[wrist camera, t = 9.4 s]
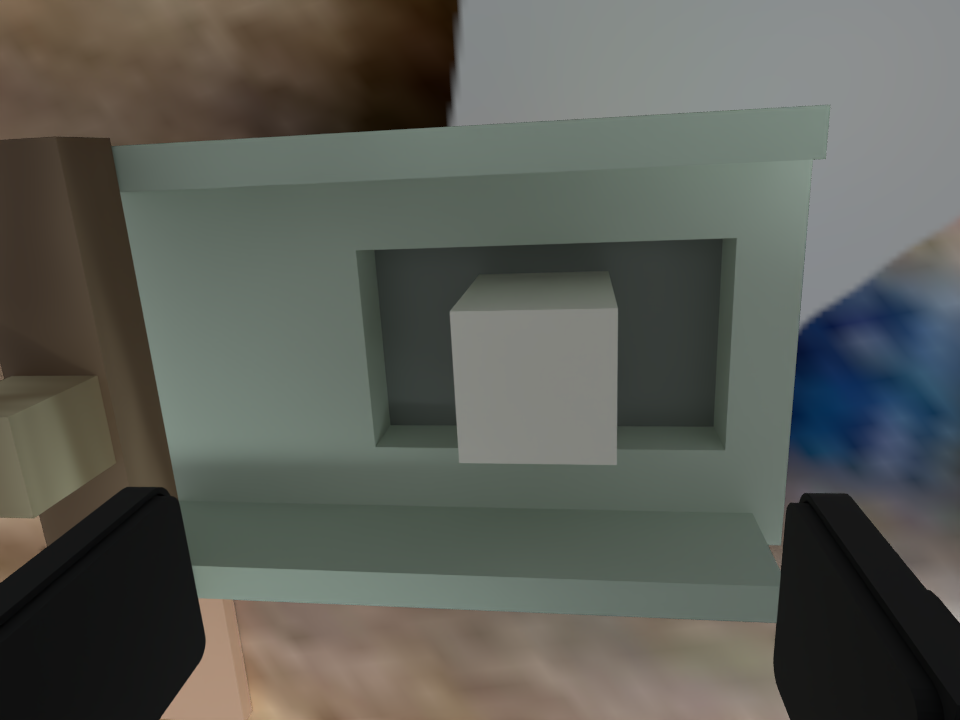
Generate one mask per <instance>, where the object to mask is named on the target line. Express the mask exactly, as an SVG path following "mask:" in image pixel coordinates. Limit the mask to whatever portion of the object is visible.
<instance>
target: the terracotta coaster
mask: <svg viewBox="0 0 960 720" xmlns="http://www.w3.org/2000/svg"><path fill="white" fill-rule="evenodd" d="M198 600H199V605H200V610H201V616H202V621H203V626H204V631H205V637H206V645H205V651H204V654H203V657H202V659H201V661H200V663H199V664H198V666H197V667H196V669H195V670H194V671H193V673H192V674H191V676H190V677H189V678H188V680H187V681H186V683H185V684H184V685H183V687H182V688H181V690H180V691H179V693H178V694H177V695H176V697H175V698H174V700H173V701H172V702H171V704H170V705H169V707H168V708H167V709H166V711H165V712H164V714H163V715H162V716H161V718H160V719H173V720H248V718H249V716H250V715H251V713H252V705H251V699H250V694H249V688H248V682H247V676H246V670H245V665H244V659H243V653H242V647H241V642H240V636H239V630H238V624H237V619H236V613H235V607H234V601H233V600H229V599H205V598H198Z"/></svg>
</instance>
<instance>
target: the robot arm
mask: <svg viewBox="0 0 960 720" xmlns="http://www.w3.org/2000/svg"><path fill="white" fill-rule="evenodd" d="M205 645H206V637H205V631H204V626H203V621H202V616H201V610H200V605H199V600H198V595H197V590H196V585H195V580H194V574H193V569H192V564H191V559H190V554H189V549H188V544H187V538H186V533H185V528H184V523H183V518H182V513H181V508H180V504H179V501H178V500H177V498H176V497H174V496H170V493H169V492H168V491H167V489H165V488H163V487H126V488H124V489H122V490H120V491H119V492H118V493H116V494H115V495H114V496H113V497H111V498H110V499H109V500H107V501H106V502H105V503H104V504H102V505H101V506H100V507H98V508H97V509H96V510H94V511H93V512H92V513H91V514H89V515H88V516H87V517H85V518H84V519H83V520H81V521H80V522H79V523H78V524H76V525H75V526H74V527H72V528H71V529H70V530H69V531H67V532H66V533H65V534H63V535H62V536H61V537H59V538H58V539H57V540H56V541H54V542H53V543H52V544H50V545H49V546H48V547H46V548H45V549H44V550H43V551H41V552H40V553H39V554H37V555H36V556H35V557H34V558H32V559H31V560H30V561H28V562H27V563H26V564H24V565H23V566H22V567H21V568H19V569H18V570H17V571H15V572H14V573H13V574H11V575H10V576H9V577H8V578H6V579H5V580H4V581H2V582H1V583H0V720H159V719H160V718H161V716H162V715H163V714H164V712H165V711H166V709H167V708H168V707H169V705H170V704H171V702H172V701H173V700H174V698H175V697H176V695H177V694H178V693H179V691H180V690H181V688H182V687H183V685H184V684H185V683H186V681H187V680H188V678H189V677H190V676H191V674H192V673H193V671H194V670H195V669H196V667H197V666H198V664H199V663H200V661H201V659H202V657H203V654H204V651H205ZM773 664H774V674H775V680H776V684H777V687H778V690H779V692H780V695H781V697H782V700H783V702H784V705H785V708H786V710H787V713H788V715H789V718H790V720H960V623H959V622H958V621H957V619H956V618H955V617H954V616H953V615H952V613H951V612H950V611H949V610H948V608H947V607H946V606H945V605H944V604H943V602H942V601H941V600H940V599H939V598H938V597H937V596H936V595H935V594H934V593H933V592H932V591H930V590H927V589H926V588H925V587H924V586H923V585H922V583H921V582H920V581H919V580H918V578H917V577H916V576H915V575H914V574H913V572H912V571H911V570H910V569H909V567H908V566H907V565H906V564H905V563H904V561H903V560H902V559H901V558H900V556H899V555H898V554H897V553H896V552H895V550H894V549H893V548H892V547H891V545H890V544H889V543H888V542H887V541H886V539H885V538H884V537H883V536H882V534H881V533H880V532H879V531H878V530H877V528H876V527H875V526H874V525H873V523H872V522H871V521H870V520H869V519H868V517H867V516H866V515H865V514H864V512H863V511H862V510H861V509H860V508H859V506H858V505H857V504H856V503H855V501H854V500H853V499H852V498H851V497H850V496H849V495H848V494H830V493H804V494H803V495H802V496H801V499H800V502H799V503H790V504H789V505H788V507H787V510H786V519H785V530H784V542H783V554H782V565H781V577H780V588H779V600H778V612H777V623H776V635H775V647H774V661H773Z"/></svg>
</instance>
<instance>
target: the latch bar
mask: <svg viewBox="0 0 960 720" xmlns="http://www.w3.org/2000/svg"><path fill="white" fill-rule="evenodd" d="M0 364H1V367H2V371H3V375H4V379H3V380H1V381H0V517H1V518H35V517H37V516H38V515H39V517H40V521H41V524H42V528H43V532H44V536H45V540H46V544H47V547H48V546H49V545H50V544H52V543H53V542H54V541H56V540H57V539H58V538H59V537H61V536H62V535H63V534H65V533H66V532H67V531H69V530H70V529H71V528H72V527H74V526H75V525H76V524H78V523H79V522H80V521H81V520H83V519H84V518H85V517H87V516H88V515H89V514H91V513H92V512H93V511H94V510H96V509H97V508H98V507H100V506H101V505H102V504H104V503H105V502H106V501H107V500H109V499H110V498H111V497H113V496H114V495H115V494H116V493H118V492H119V491H120V490H122V489H124V488H126V487H163V488H165V489H167V491H168V492H169V493H170V496H174V497H176V498H177V500H178V495H177V489H176V484H175V479H174V474H173V468H172V463H171V458H170V453H169V447H168V442H167V437H166V432H165V426H164V421H163V416H162V410H161V405H160V400H159V395H158V389H157V384H156V379H155V374H154V368H153V363H152V358H151V353H150V347H149V342H148V337H147V332H146V326H145V321H144V316H143V311H142V305H141V300H140V295H139V290H138V284H137V279H136V274H135V269H134V263H133V258H132V253H131V248H130V242H129V237H128V232H127V227H126V221H125V216H124V211H123V206H122V200H121V195H120V190H119V184H118V179H117V174H116V169H115V163H114V158H113V153H112V148H111V142H110V138H83V137H43V138H26V139H10V140H0ZM178 501H179V500H178Z"/></svg>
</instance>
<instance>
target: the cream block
mask: <svg viewBox="0 0 960 720" xmlns="http://www.w3.org/2000/svg"><path fill="white" fill-rule="evenodd" d="M450 326H451V342H452V357H453V373H454V389H455V405H456V421H457V437H458V453H459V463H493V464H574V465H617V367H618V307H617V303H616V299H615V295H614V291H613V287H612V283H611V279H610V275H609V272H608V271H591V272H554V273H516V274H479V276H478V277H477V278H476V279H475V281H474V282H473V283H472V284H471V286H470V287H469V288H468V289H467V291H466V292H465V293H464V294H463V295H462V297H461V298H460V299H459V300H458V302H457V303H456V304H455V305H454V307H453V308H452V309H451V310H450Z"/></svg>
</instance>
